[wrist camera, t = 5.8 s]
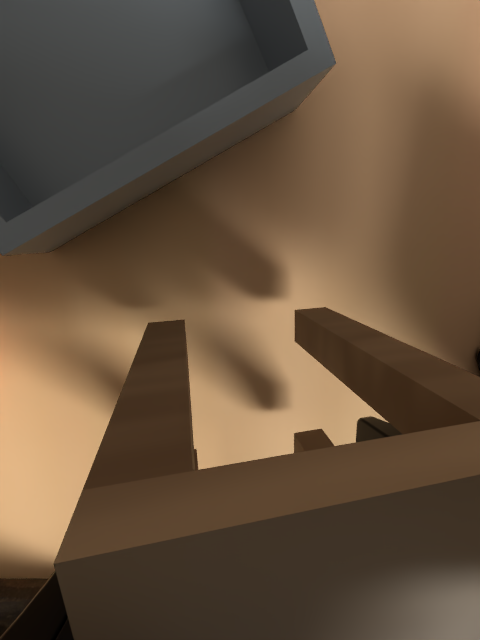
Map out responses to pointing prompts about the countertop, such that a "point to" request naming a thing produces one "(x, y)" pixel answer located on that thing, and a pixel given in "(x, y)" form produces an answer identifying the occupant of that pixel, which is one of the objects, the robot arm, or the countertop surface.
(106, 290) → the countertop surface
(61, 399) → the countertop surface
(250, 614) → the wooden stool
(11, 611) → the sculpture
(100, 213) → the tray
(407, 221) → the countertop surface
